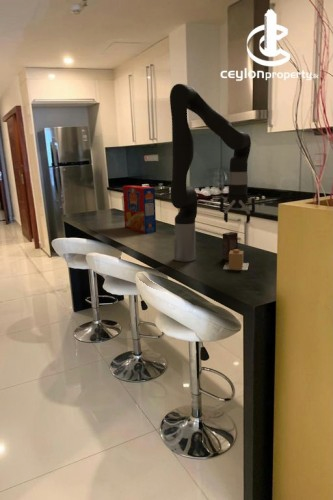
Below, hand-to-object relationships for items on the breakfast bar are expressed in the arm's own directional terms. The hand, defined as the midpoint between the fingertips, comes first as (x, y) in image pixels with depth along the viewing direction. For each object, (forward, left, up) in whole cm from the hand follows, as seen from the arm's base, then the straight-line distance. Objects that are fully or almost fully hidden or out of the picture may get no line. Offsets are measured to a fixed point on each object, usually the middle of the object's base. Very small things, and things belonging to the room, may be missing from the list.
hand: (236, 222), depth 161 cm
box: (-4, +13, -19) cm, 24 cm away
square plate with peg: (0, 0, -19) cm, 19 cm away
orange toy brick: (0, 0, -19) cm, 19 cm away
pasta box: (-69, +74, -20) cm, 103 cm away
